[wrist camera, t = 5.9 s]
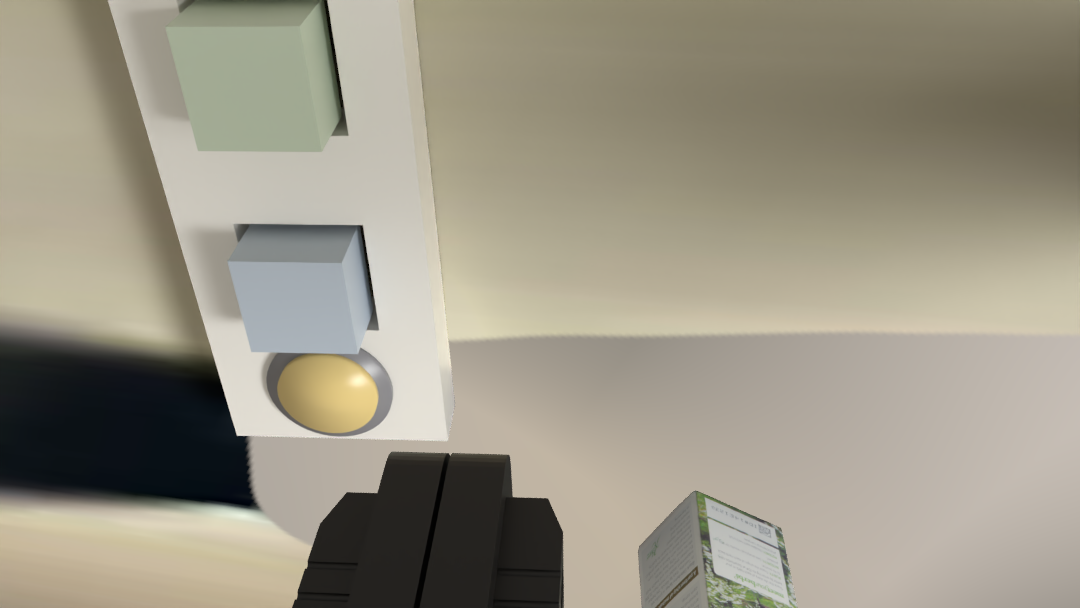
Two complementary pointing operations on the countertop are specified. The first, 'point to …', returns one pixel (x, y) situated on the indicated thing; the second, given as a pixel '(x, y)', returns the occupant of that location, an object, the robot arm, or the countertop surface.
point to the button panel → (315, 199)
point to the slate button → (302, 288)
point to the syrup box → (714, 560)
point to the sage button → (256, 74)
